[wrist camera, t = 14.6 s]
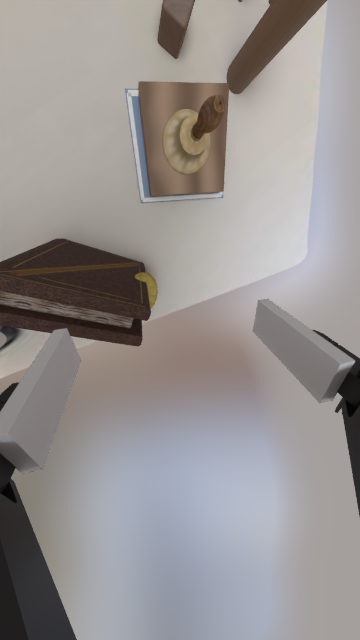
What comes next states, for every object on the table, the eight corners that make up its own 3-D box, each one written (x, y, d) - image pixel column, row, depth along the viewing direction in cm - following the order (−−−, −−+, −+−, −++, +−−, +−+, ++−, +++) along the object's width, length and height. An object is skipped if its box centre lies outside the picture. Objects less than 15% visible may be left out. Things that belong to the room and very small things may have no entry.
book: (52, 268, 43) (-27, 328, 22) (54, 229, 40) (-38, 256, 19) (147, 292, 51) (155, 355, 30) (156, 261, 47) (173, 307, 26)
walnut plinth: (149, 196, 39) (151, 195, 35) (138, 97, 32) (138, 81, 28) (214, 192, 41) (223, 191, 37) (217, 98, 34) (229, 83, 30)
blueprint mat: (140, 203, 40) (140, 203, 40) (125, 90, 32) (124, 88, 31) (221, 197, 43) (223, 197, 42) (227, 92, 34) (228, 90, 34)
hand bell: (194, 184, 36) (229, 172, 22) (153, 154, 32) (166, 117, 19) (219, 134, 33) (277, 84, 19) (177, 94, 29) (213, 0, 16)
